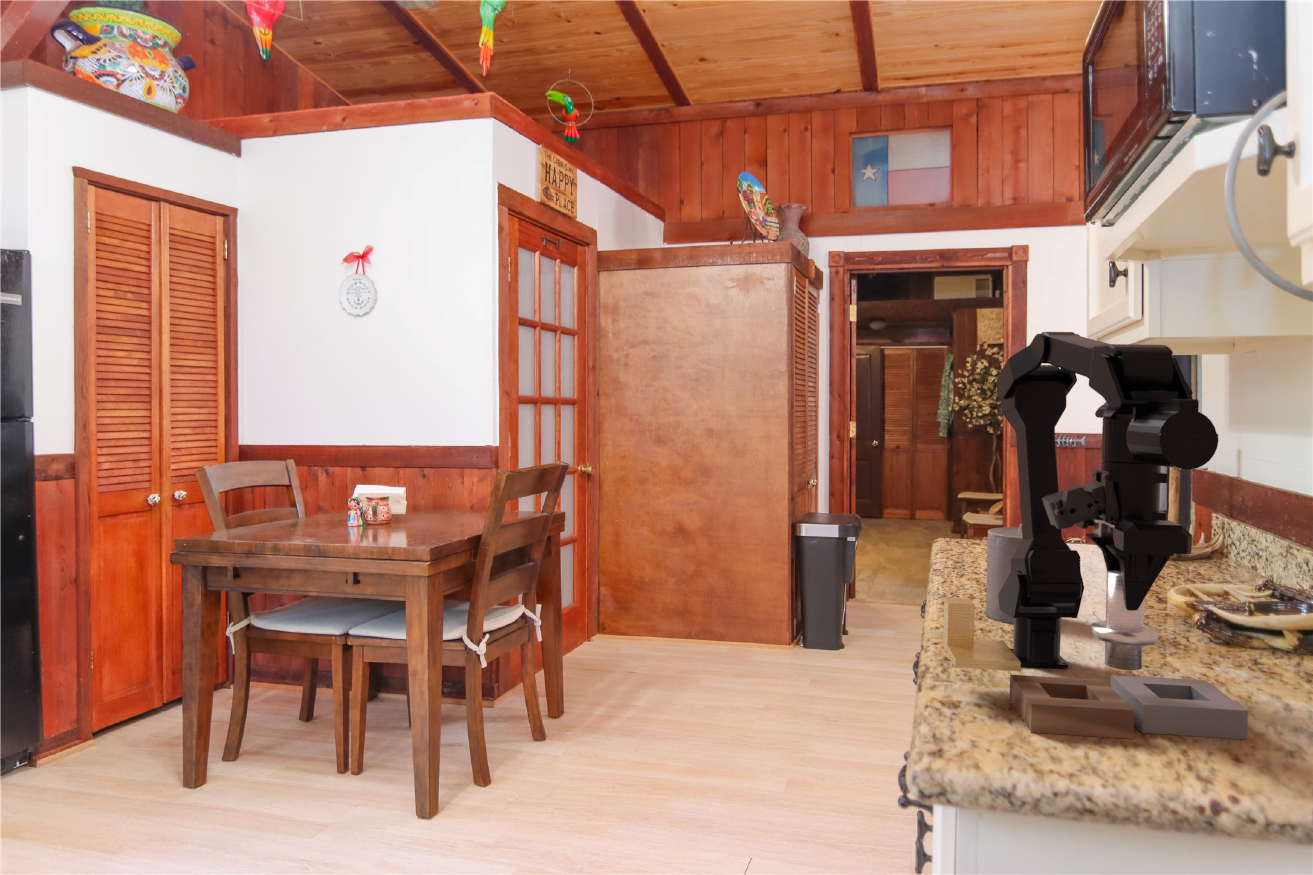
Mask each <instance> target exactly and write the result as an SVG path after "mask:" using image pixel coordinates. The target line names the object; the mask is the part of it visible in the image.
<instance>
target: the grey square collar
mask: <svg viewBox="0 0 1313 875" xmlns="http://www.w3.org/2000/svg"><path fill="white" fill-rule="evenodd" d="M1110 675H1111V676H1110V687H1111V688H1112V689H1113V690H1114V691H1115V692H1116V693H1117V694H1118V695H1119V696H1120V697H1121V698H1122V699H1124V700H1125V701H1126V702H1127V703H1128V704H1129V705H1130V706H1131V707H1132V708H1133V709H1134V710H1135V715H1134V727H1136V728H1137V729H1138V730H1139V731H1140V733H1142V734H1154V735H1155V734H1156V735H1169V734H1171V736H1173V735H1172V734H1174V736H1184V737H1185V736H1186V737H1187V736H1188V737H1201V738H1202V737H1203V738H1217V739H1233V740H1234V739H1235V740H1248V719H1249V716H1248V715H1249V710H1248V709H1246V708H1244V706H1242V705H1241V704H1240V703H1238V702H1236V701H1235V700H1234V699H1232V698H1231V697H1230V696H1228V695H1227V694H1226V693H1224V692H1222V691H1221V690H1220V689H1218V688H1217V687H1215V686H1214V685H1213V684H1212V683H1210V682H1208V681H1207V680H1205V679H1189V678H1187V679H1186V678H1171V677H1152V676H1150V677H1149V676H1135V675H1134V676H1133V675H1117V674H1115V675H1114V674H1113V675H1112V674H1110Z"/></svg>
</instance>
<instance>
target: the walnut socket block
mask: <svg viewBox="0 0 1313 875" xmlns="http://www.w3.org/2000/svg"><path fill="white" fill-rule="evenodd" d="M1008 699H1010V700H1009V702H1010V701H1011V702H1012V703H1011V702H1010V703H1011V705H1012V704H1013V705H1014V706H1013V705H1012V706H1013V708H1014V707H1015V708H1016V709H1015V708H1014V709H1015V711H1016V710H1017V711H1018V712H1017V711H1016V712H1017V714H1018V713H1019V714H1020V715H1019V714H1018V715H1019V717H1020V716H1021V717H1022V718H1021V717H1020V718H1021V719H1023V720H1024V721H1023V720H1022V721H1023V723H1024V722H1025V723H1026V724H1025V723H1024V724H1025V725H1027V726H1026V727H1027V729H1028V728H1029V729H1028V730H1029V732H1030V731H1031V732H1030V733H1034V732H1035V733H1034V734H1052V735H1067V736H1081V737H1082V736H1084V737H1096V738H1097V737H1098V738H1099V737H1101V738H1110V739H1111V738H1113V739H1127V740H1128V739H1129V740H1133V739H1134V736H1135V725H1134V715H1135V710H1134V709H1133V708H1132V707H1131V706H1130V705H1129V704H1128V703H1127V702H1126V701H1125V700H1124V699H1122V698H1121V697H1120V696H1119V695H1118V694H1117V693H1116V692H1115V691H1114V690H1113V689H1112V688H1111V685H1109V684H1108V683H1107V682H1106V681H1105V680H1104V679H1097V678H1096V679H1095V678H1094V679H1093V678H1079V677H1062V676H1061V677H1059V676H1042V675H1041V676H1039V675H1025V674H1024V675H1023V674H1009V698H1008Z"/></svg>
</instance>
